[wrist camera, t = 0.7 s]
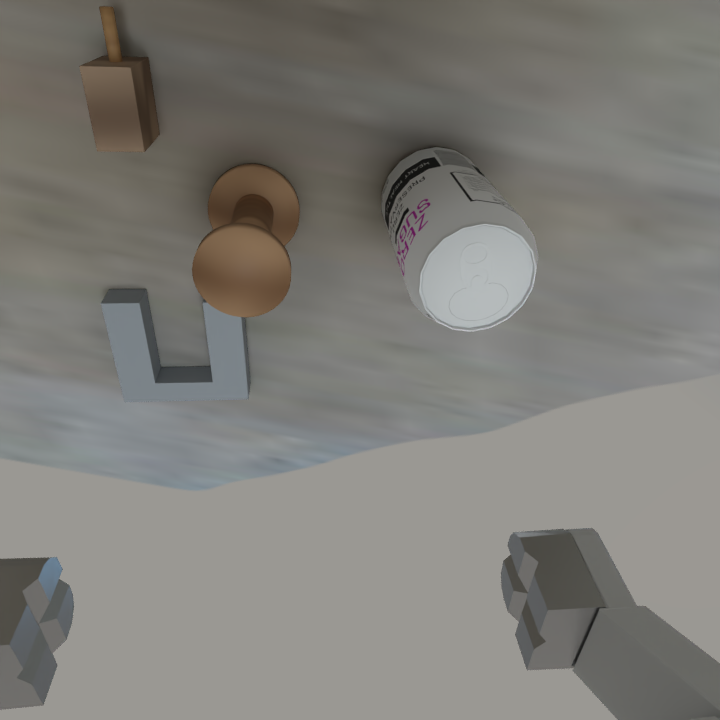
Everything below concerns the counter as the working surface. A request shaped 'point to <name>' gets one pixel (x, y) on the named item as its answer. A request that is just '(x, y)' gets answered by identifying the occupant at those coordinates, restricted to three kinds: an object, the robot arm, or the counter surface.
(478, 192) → the supplement can
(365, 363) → the counter surface
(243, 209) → the bobbin
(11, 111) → the counter surface
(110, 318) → the notch board
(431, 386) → the counter surface
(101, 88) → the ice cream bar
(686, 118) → the counter surface
